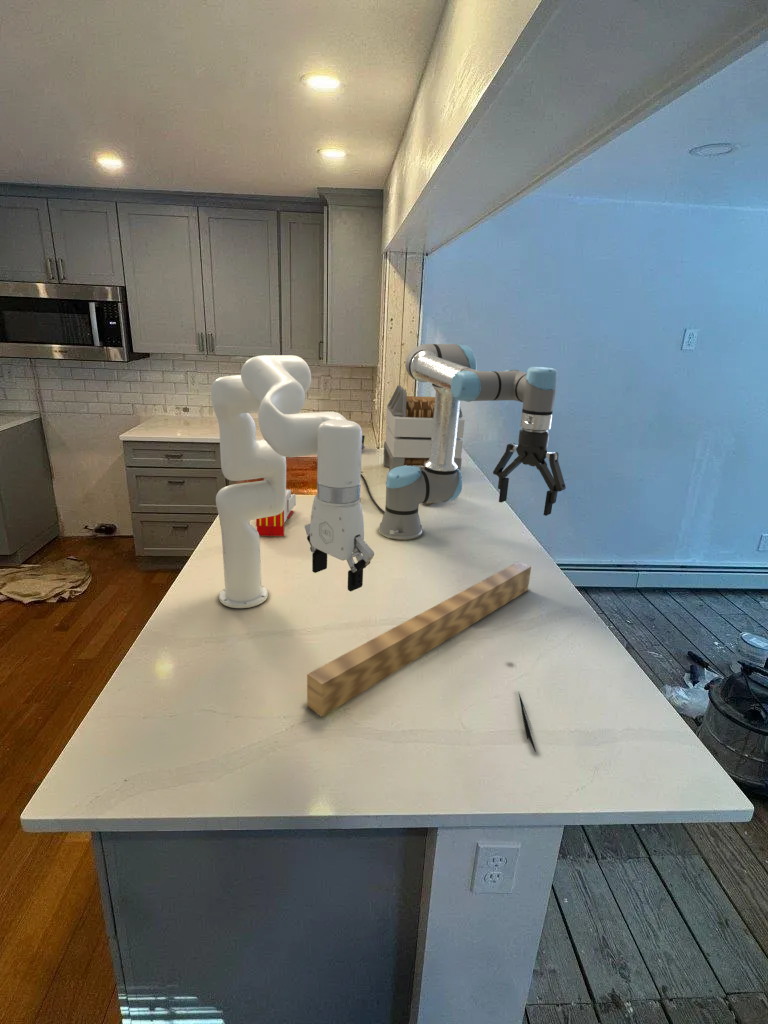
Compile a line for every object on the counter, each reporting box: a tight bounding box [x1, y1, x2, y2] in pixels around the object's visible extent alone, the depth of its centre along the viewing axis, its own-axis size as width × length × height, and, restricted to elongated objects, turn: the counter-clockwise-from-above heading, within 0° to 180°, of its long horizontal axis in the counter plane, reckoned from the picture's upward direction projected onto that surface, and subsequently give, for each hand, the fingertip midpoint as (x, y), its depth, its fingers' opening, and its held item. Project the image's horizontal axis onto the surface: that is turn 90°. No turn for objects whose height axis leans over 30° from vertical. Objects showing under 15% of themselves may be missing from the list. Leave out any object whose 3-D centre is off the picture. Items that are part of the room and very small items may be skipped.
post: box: [306, 561, 532, 718], centre depth 136 cm, size 78×4×8 cm, turn 137°
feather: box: [517, 691, 537, 753], centre depth 115 cm, size 2×28×2 cm
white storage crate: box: [383, 384, 465, 473], centre depth 268 cm, size 34×33×41 cm
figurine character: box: [362, 434, 365, 450], centre depth 311 cm, size 7×8×15 cm
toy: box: [255, 489, 297, 537], centre depth 204 cm, size 12×13×30 cm
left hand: (336, 579), depth 105 cm, fingers open, 9 cm apart
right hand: (524, 507), depth 152 cm, fingers open, 13 cm apart
